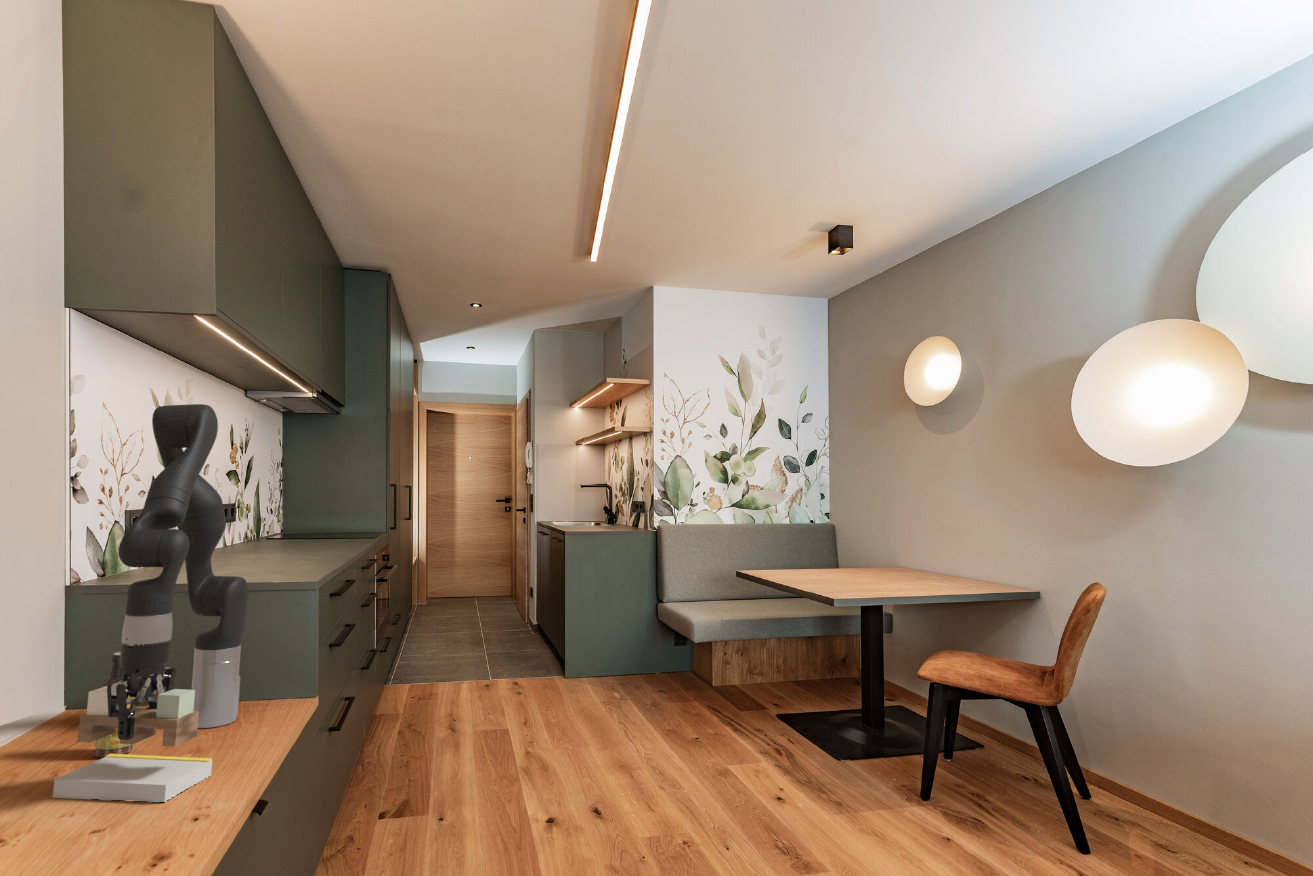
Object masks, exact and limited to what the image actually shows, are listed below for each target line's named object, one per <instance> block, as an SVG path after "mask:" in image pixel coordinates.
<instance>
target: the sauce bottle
mask: <svg viewBox="0 0 1313 876" xmlns="http://www.w3.org/2000/svg"><path fill="white" fill-rule="evenodd" d="M120 653H121V651H119V652H114V653H112V658H111V660H112V667H111V673H110V678H108V681H107V682H106V683H105V685H104V686H103V687H105V686H108V685H109V684H115V683H118V682H120V681H121V680H122V677H123V675H124V669H123V668H122V667H121V666H120ZM134 698H136V697H130V696H128V699H134ZM130 705H131V704H128V705H127V708H130ZM138 706H139V705H138ZM138 706H137V708H139V707H138ZM94 744H95V745H94V747H95V751H94V755H95V757H96V758H99V759H102V758H104V757H105V756H106V755H109V754H128V753H130V752H131V751H132V750H133V745H134V744H120V739H119V738H118V726H116V732H115V733H113V734H110V735H108V736H105V737H103V738H100V739H98V740H95V743H94Z"/></svg>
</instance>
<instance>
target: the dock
mask: <svg viewBox="0 0 1313 876" xmlns="http://www.w3.org/2000/svg"><path fill="white" fill-rule="evenodd" d="M212 769H213V758H209V757H192V756H191V757H188V756H169V755H166V756H165V755H145V754H128V753H127V754H109V755H106V756H105V757H104V758H99V759H98V760H96V761H93V762H91V763H89V764H87V765H84V766H82V767H80V768H78V769H76V770H73V771H71V772H68V773H66V774H63V775H62V776H59V777H57V778H55V779H54V781H53V791H52V798H55V799H73V800H74V799H75V800H91V799H99V800H98V801H111V800H133V801H134V800H135V801H136V800H137V801H158V802H159V801H160V802H165V801H167V800H168V799H171V798H172V797H174V796H176V795H177V794H179V793H180V792H182V791H184V790H186V789H187V788H189V787H190V786H193V785H194V784H197V783H198V782H200V781H202V780H203V781H205V780H206V779H205V778H207V779H209V778H210V777H211V776H212V772H213V771H212ZM209 776H210V777H209ZM208 777H209V778H208ZM204 779H205V780H204ZM203 781H202V782H203ZM200 783H201V782H200ZM198 784H199V783H198ZM198 784H197V785H198ZM193 787H194V786H193ZM186 791H187V790H186ZM179 795H180V794H179ZM176 797H177V796H176ZM174 798H175V797H174ZM172 799H173V798H172ZM172 799H171V800H172ZM167 802H168V801H167Z"/></svg>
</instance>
